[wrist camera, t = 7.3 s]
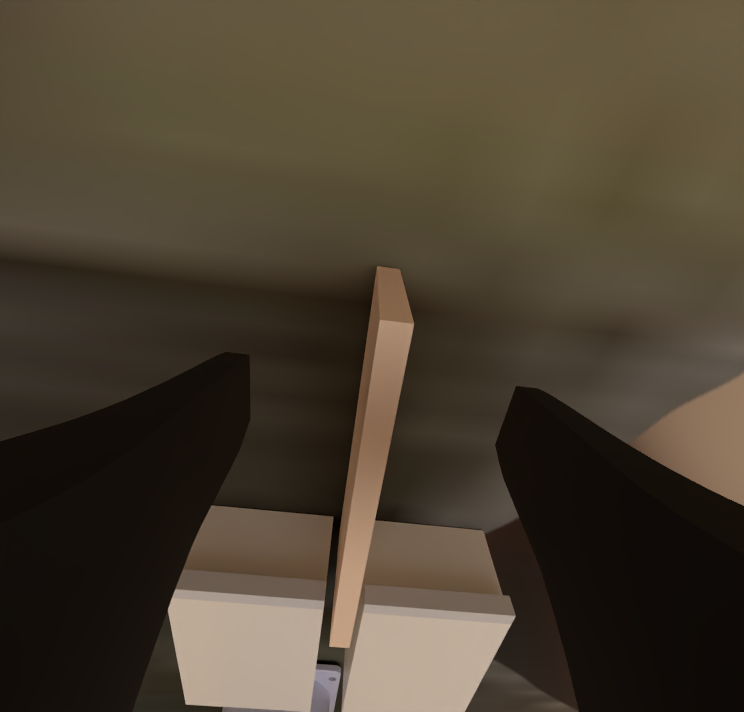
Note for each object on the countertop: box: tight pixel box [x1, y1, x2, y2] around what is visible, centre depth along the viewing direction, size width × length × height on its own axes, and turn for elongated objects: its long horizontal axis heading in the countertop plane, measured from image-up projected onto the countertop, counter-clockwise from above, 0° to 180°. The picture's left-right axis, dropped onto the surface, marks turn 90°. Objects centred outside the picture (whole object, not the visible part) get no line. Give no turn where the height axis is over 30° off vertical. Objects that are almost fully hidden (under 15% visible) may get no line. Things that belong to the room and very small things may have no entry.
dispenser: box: [168, 505, 515, 712], centre depth 19 cm, size 10×14×4 cm
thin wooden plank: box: [329, 266, 414, 648], centre depth 14 cm, size 14×1×5 cm, turn 172°
